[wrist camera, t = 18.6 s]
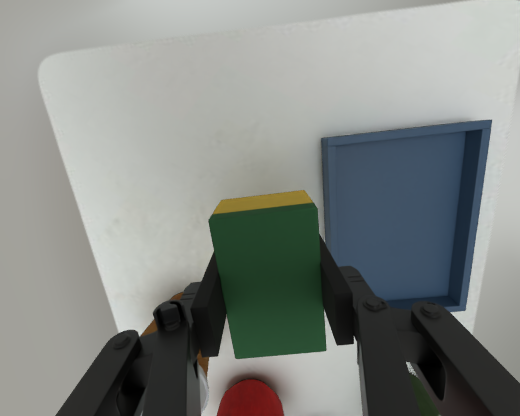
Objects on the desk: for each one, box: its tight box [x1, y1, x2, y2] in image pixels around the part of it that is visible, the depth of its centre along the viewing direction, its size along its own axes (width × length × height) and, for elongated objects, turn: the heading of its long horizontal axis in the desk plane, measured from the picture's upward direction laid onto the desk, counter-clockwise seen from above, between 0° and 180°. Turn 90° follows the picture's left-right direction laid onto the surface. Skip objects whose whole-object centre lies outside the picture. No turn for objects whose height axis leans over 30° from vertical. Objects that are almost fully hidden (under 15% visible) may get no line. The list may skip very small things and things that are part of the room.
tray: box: [321, 120, 492, 312], centre depth 28 cm, size 22×16×3 cm
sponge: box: [208, 190, 326, 359], centre depth 15 cm, size 9×6×4 cm, turn 7°
